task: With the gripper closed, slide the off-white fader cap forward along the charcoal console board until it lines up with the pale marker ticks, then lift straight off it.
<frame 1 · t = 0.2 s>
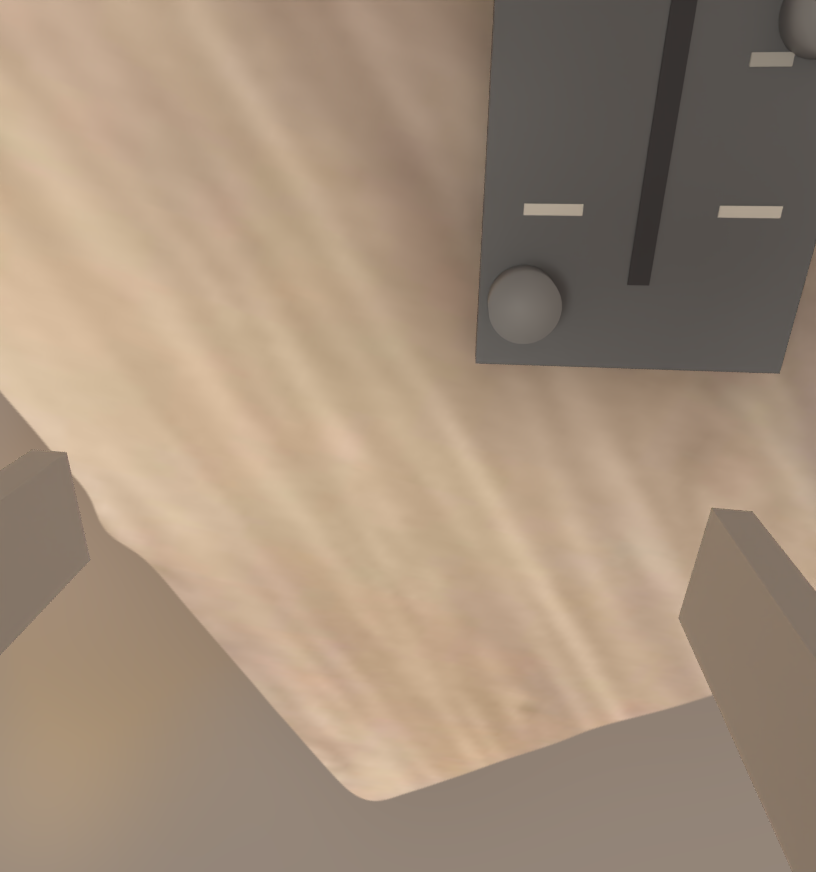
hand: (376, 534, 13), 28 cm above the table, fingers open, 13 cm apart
console: (659, 88, 32), on the table
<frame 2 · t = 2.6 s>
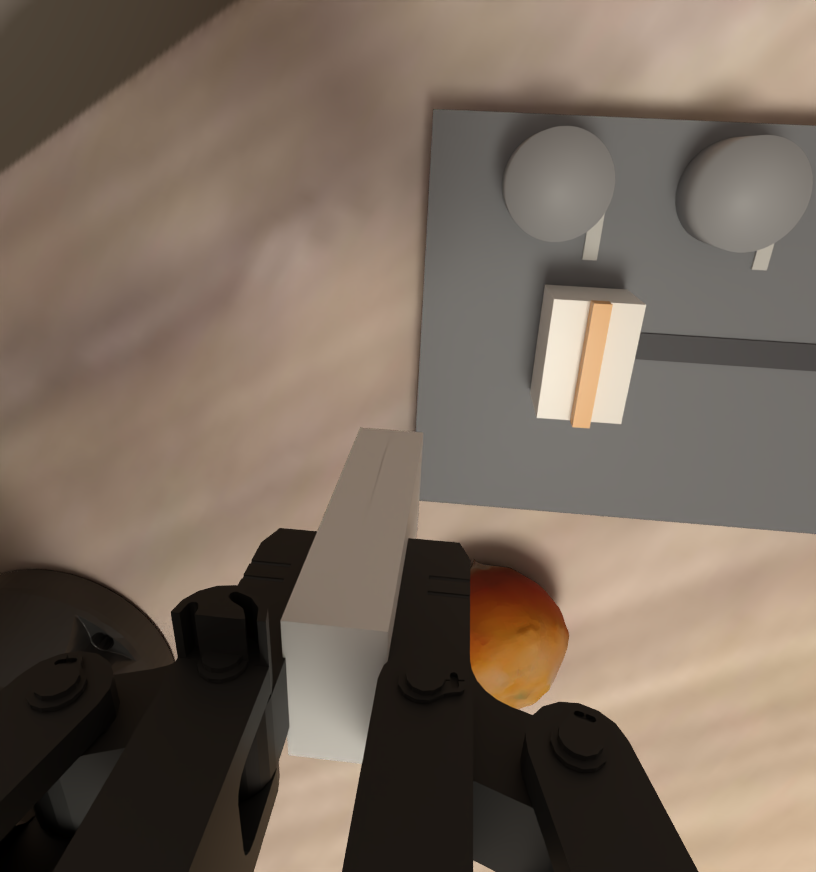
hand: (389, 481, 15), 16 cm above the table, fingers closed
console: (739, 341, 29), on the table
fader: (583, 355, 25), point 4 cm above the table, slide at 0.0 cm
fruit: (490, 601, 37), on the table
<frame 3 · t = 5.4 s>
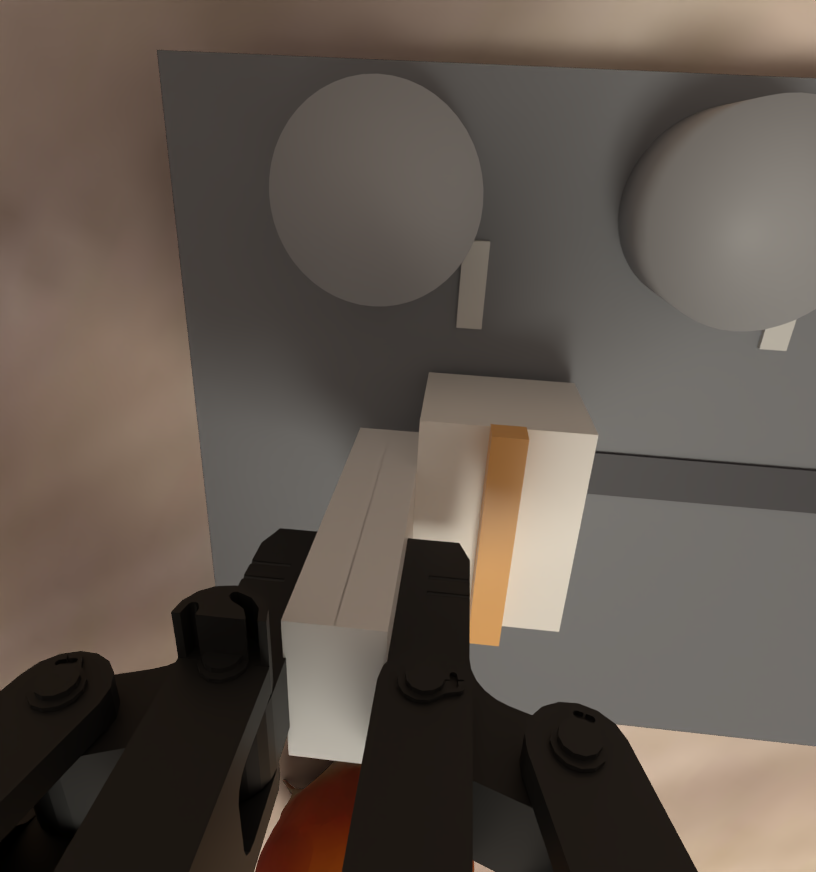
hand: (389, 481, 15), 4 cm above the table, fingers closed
console: (736, 452, 17), on the table
fader: (492, 504, 14), point 4 cm above the table, slide at 0.9 cm, touching gripper
fruit: (376, 790, 25), on the table
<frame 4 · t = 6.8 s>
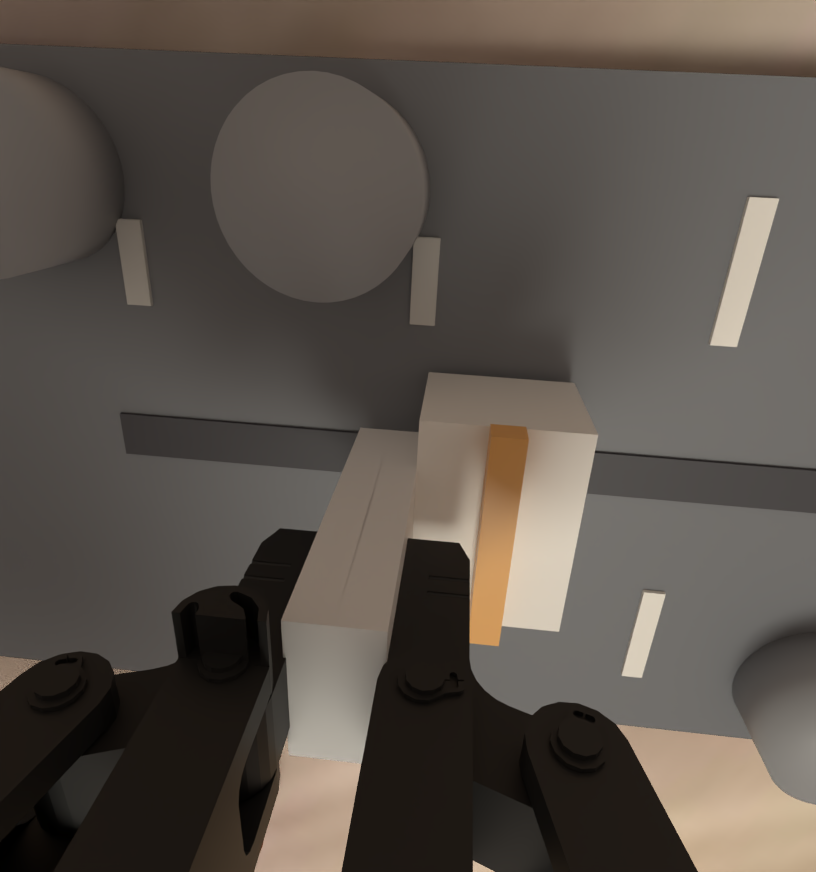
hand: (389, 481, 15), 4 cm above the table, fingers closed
console: (454, 429, 18), on the table
fader: (492, 504, 14), point 4 cm above the table, slide at 9.0 cm, touching gripper
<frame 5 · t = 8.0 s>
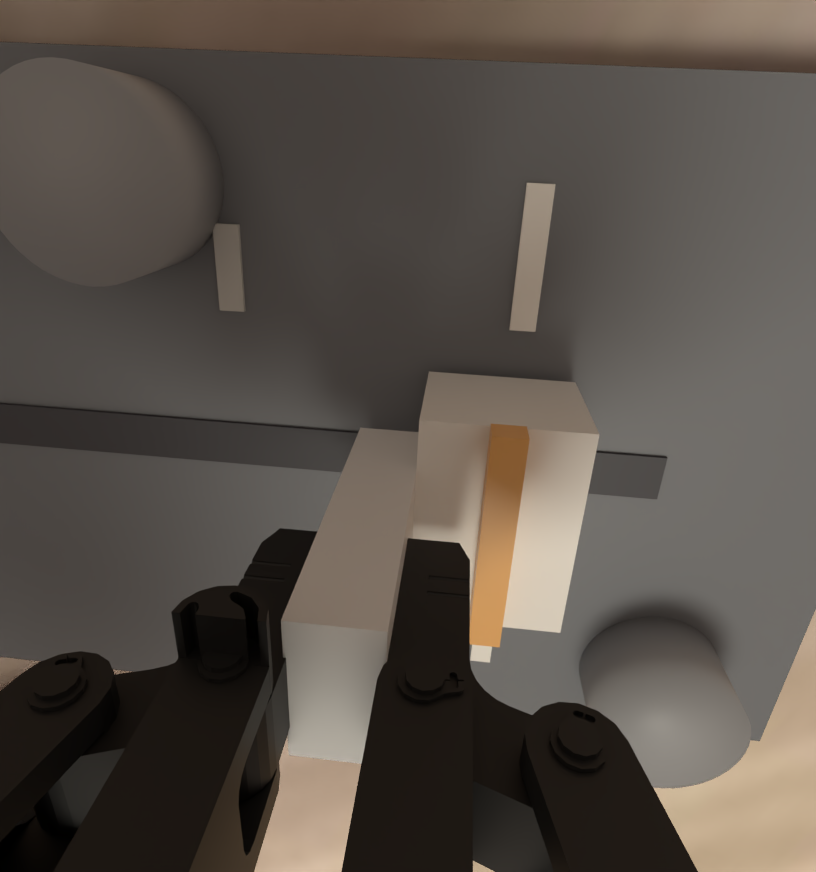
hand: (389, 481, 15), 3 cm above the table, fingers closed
console: (299, 416, 18), on the table
fader: (493, 504, 14), point 4 cm above the table, slide at 13.6 cm, touching gripper
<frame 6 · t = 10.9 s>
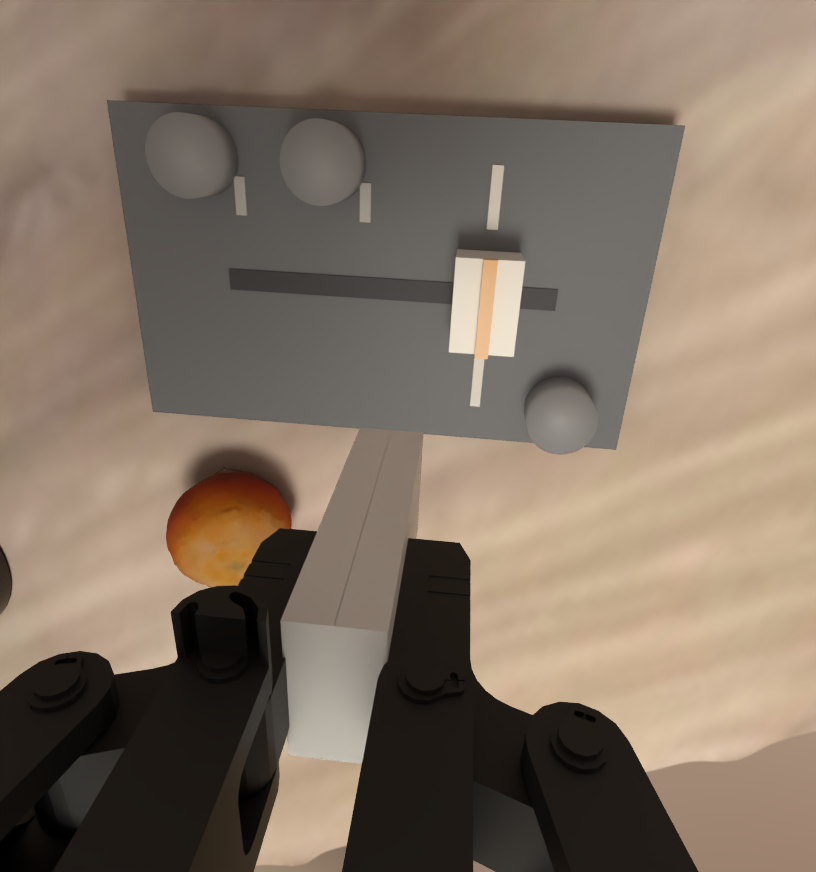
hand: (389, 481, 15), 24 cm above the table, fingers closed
console: (386, 282, 37), on the table
fader: (485, 303, 32), point 4 cm above the table, slide at 13.9 cm
fruit: (246, 504, 45), on the table
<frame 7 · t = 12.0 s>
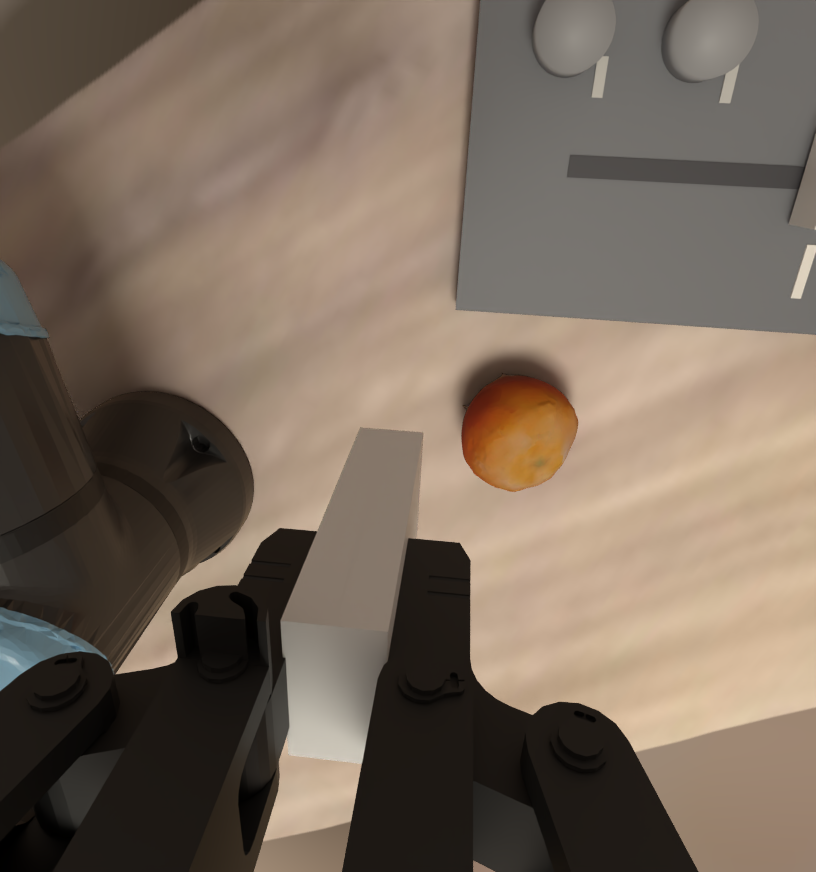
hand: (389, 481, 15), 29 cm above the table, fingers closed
console: (712, 173, 37), on the table
fruit: (514, 413, 45), on the table
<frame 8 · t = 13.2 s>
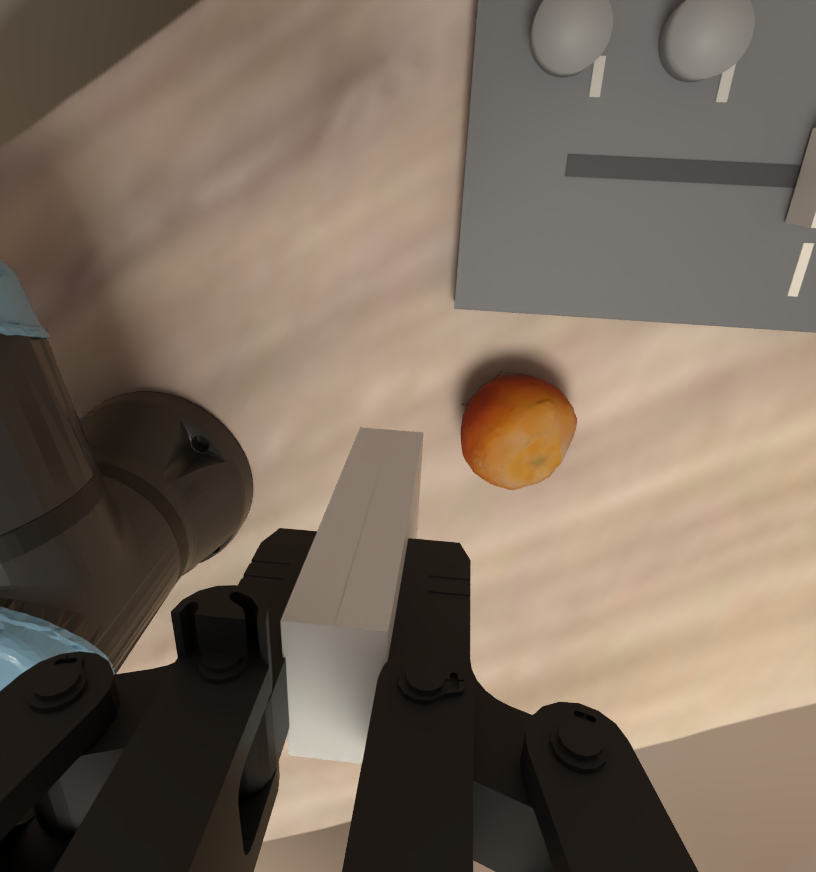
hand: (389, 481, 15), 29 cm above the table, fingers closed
console: (709, 172, 37), on the table
fruit: (513, 412, 45), on the table
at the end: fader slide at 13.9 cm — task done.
